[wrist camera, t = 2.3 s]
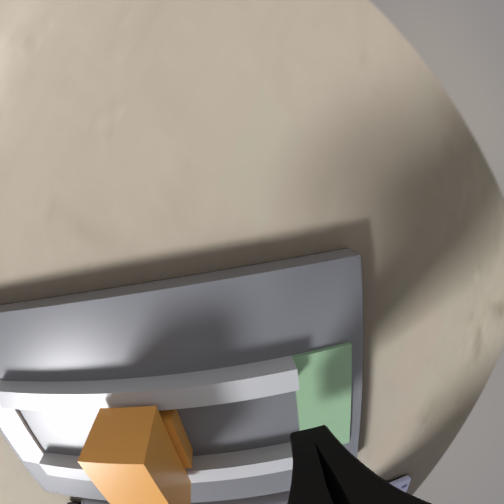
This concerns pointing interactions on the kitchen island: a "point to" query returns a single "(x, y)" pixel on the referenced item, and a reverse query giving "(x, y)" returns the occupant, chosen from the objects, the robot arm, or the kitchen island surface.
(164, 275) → the kitchen island surface
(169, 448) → the orange slider block
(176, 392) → the slider track board
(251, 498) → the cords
